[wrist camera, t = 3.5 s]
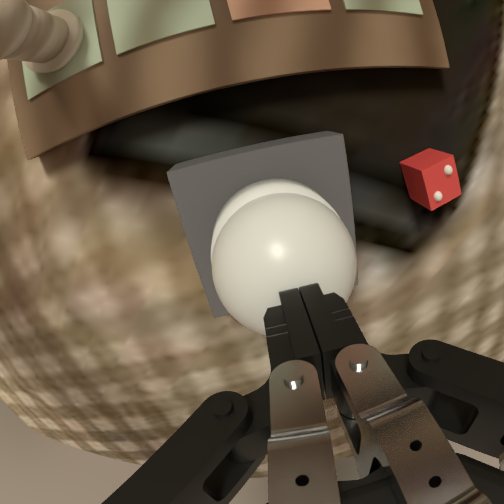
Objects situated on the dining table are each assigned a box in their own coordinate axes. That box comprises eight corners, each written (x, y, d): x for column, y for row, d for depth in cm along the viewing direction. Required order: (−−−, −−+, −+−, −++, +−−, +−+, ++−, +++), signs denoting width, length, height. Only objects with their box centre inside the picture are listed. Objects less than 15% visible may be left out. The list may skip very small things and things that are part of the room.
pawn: (34, 84, 14) (-47, 86, 7) (27, 32, 12) (-47, 17, 5) (88, 55, 14) (13, 34, 7) (80, 1, 12) (13, -36, 5)
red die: (409, 198, 21) (434, 212, 18) (399, 162, 20) (424, 172, 17) (438, 183, 20) (464, 195, 17) (429, 148, 19) (456, 156, 16)
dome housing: (215, 293, 23) (214, 317, 20) (175, 163, 19) (166, 172, 16) (344, 264, 23) (358, 284, 20) (327, 130, 18) (343, 134, 16)
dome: (230, 300, 19) (231, 382, 13) (198, 193, 16) (179, 245, 10) (338, 275, 19) (380, 347, 13) (325, 165, 16) (380, 200, 10)
